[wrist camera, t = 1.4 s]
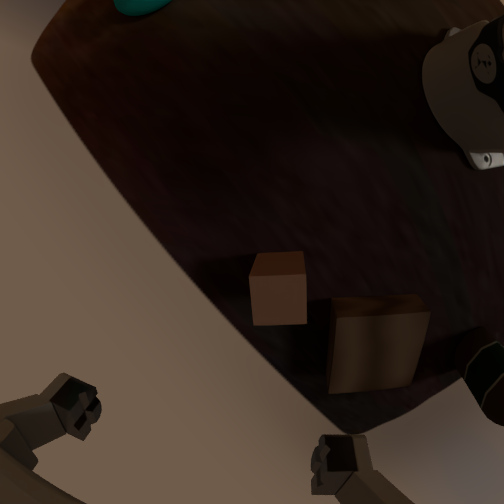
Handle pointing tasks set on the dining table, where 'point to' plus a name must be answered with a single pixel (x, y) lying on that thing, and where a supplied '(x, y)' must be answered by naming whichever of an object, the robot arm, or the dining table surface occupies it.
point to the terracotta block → (278, 289)
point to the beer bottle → (483, 371)
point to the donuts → (139, 6)
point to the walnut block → (374, 342)
